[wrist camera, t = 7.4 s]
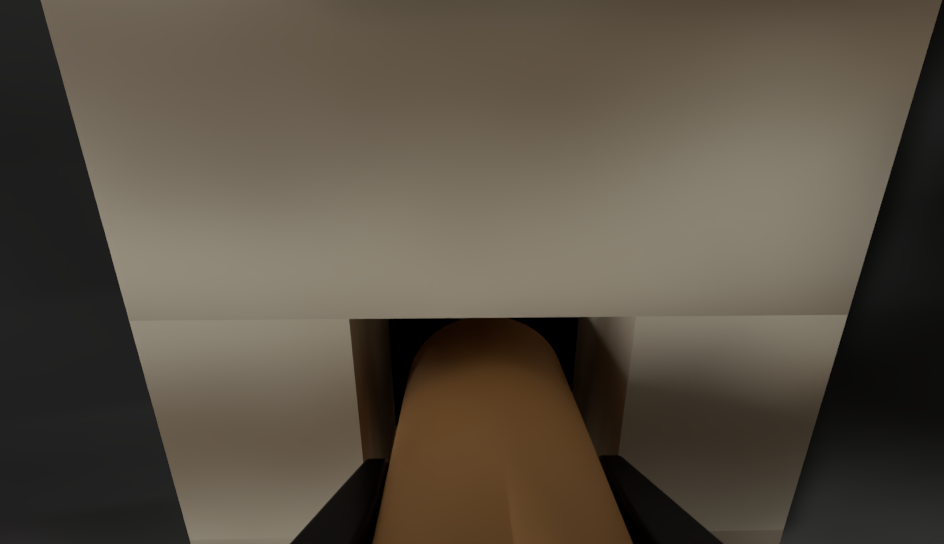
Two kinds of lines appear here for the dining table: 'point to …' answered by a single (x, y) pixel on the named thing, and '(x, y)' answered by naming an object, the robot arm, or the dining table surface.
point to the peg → (493, 447)
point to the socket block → (487, 221)
